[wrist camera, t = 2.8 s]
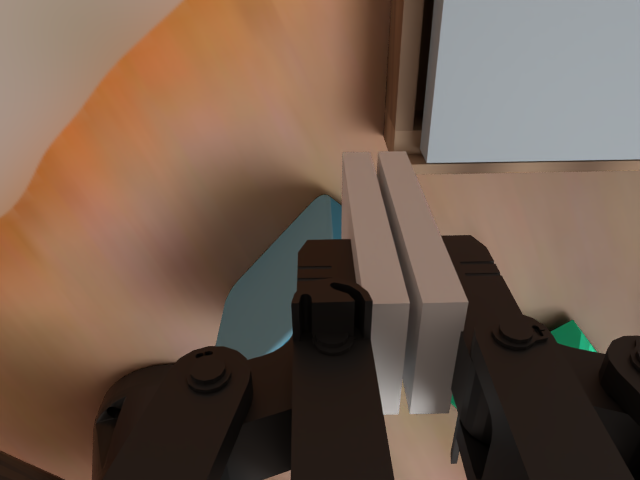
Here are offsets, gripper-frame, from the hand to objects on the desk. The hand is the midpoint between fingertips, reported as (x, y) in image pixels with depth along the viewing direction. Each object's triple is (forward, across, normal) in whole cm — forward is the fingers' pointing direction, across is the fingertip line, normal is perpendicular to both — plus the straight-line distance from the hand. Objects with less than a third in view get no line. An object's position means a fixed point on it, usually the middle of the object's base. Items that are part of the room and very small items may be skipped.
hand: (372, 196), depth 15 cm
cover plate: (+15, +13, 0) cm, 20 cm away
